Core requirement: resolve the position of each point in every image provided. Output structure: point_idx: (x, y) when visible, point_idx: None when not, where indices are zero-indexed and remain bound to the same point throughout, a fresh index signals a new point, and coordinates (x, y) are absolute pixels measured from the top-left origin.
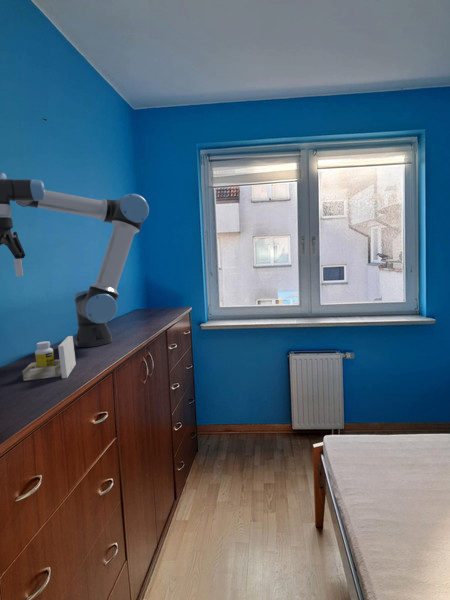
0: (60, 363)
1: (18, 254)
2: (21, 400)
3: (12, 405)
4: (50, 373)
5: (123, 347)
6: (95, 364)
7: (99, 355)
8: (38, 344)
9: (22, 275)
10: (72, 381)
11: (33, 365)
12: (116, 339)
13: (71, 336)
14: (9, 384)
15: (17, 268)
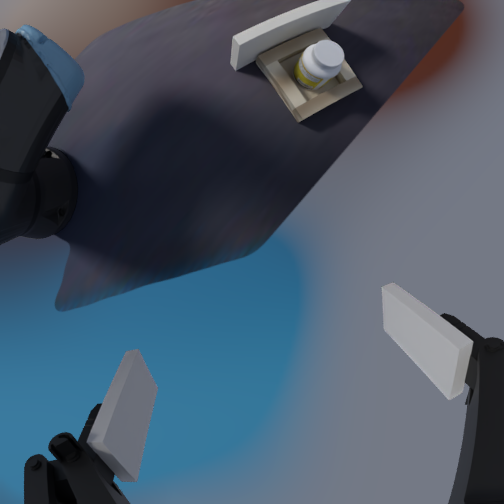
0: (338, 14)
1: (102, 479)
2: (418, 33)
3: (431, 35)
4: None
5: None
6: (228, 20)
7: (149, 66)
8: (343, 55)
9: (136, 351)
10: None
11: (323, 94)
12: None
13: (242, 33)
14: (375, 103)
15: (139, 409)
